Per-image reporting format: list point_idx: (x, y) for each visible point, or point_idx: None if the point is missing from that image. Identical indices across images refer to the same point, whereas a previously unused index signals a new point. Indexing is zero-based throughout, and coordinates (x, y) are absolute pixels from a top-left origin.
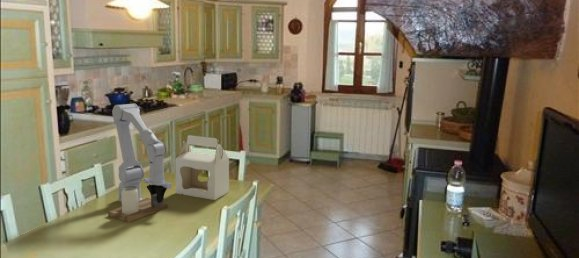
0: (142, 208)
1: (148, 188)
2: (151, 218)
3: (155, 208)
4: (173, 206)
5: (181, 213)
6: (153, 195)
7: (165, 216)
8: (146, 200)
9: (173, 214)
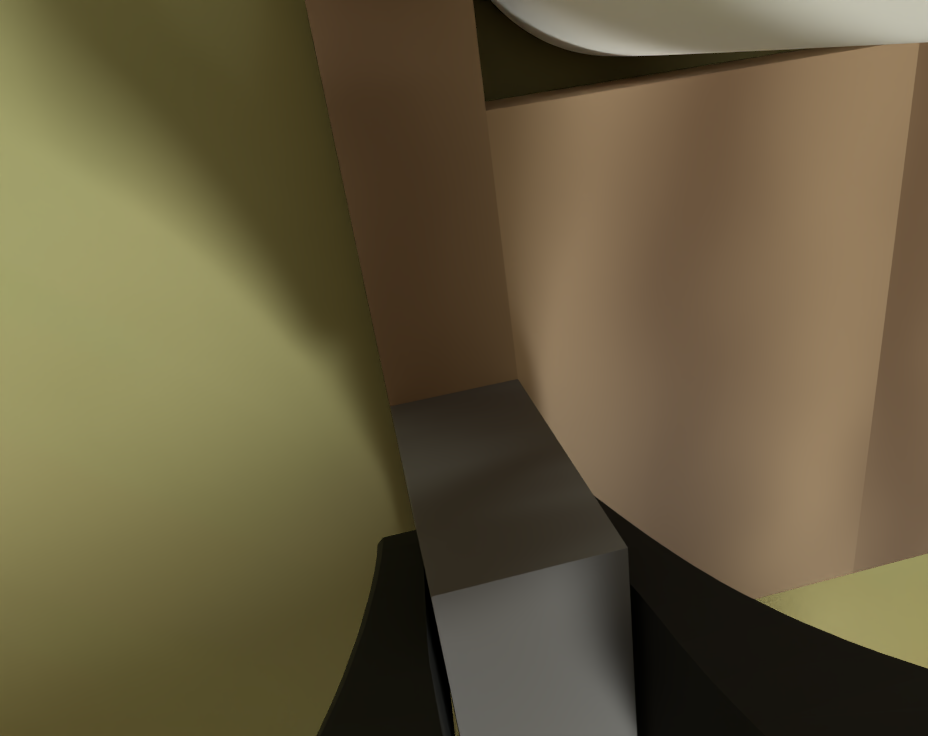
0: (559, 160)
1: (912, 708)
2: (106, 107)
3: (390, 402)
4: None
5: (6, 664)
6: (543, 595)
7: (33, 393)
8: (855, 476)
9: (46, 549)
